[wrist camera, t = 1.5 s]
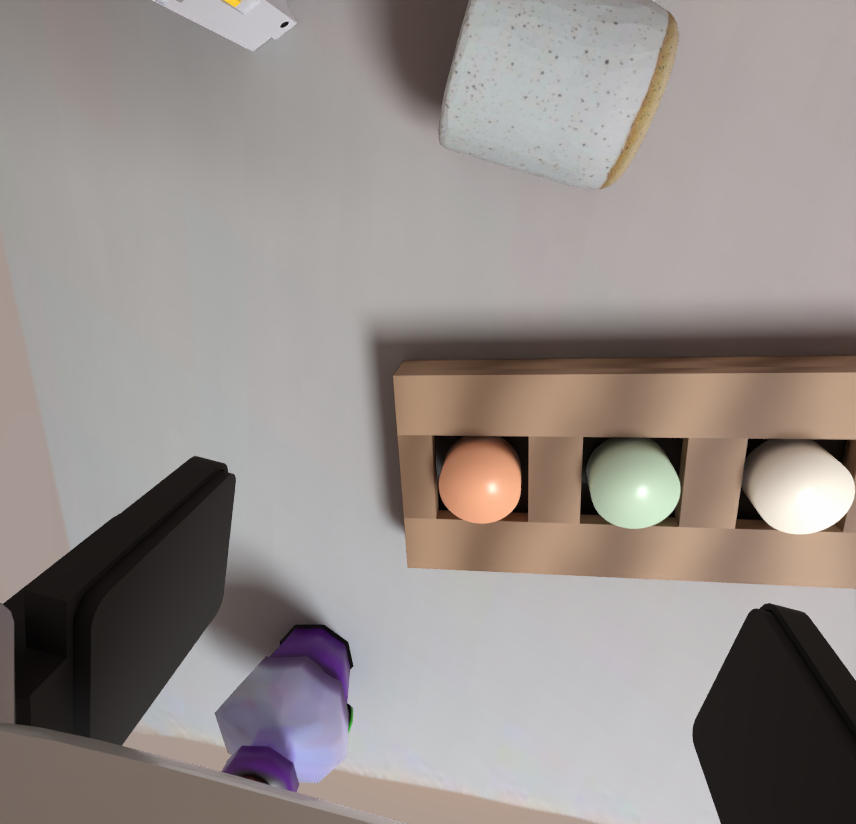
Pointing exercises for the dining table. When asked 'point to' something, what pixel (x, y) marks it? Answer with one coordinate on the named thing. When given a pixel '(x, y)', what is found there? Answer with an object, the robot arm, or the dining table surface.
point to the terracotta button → (481, 479)
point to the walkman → (237, 18)
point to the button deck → (627, 417)
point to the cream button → (797, 485)
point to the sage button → (632, 482)
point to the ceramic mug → (558, 85)
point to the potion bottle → (291, 711)
